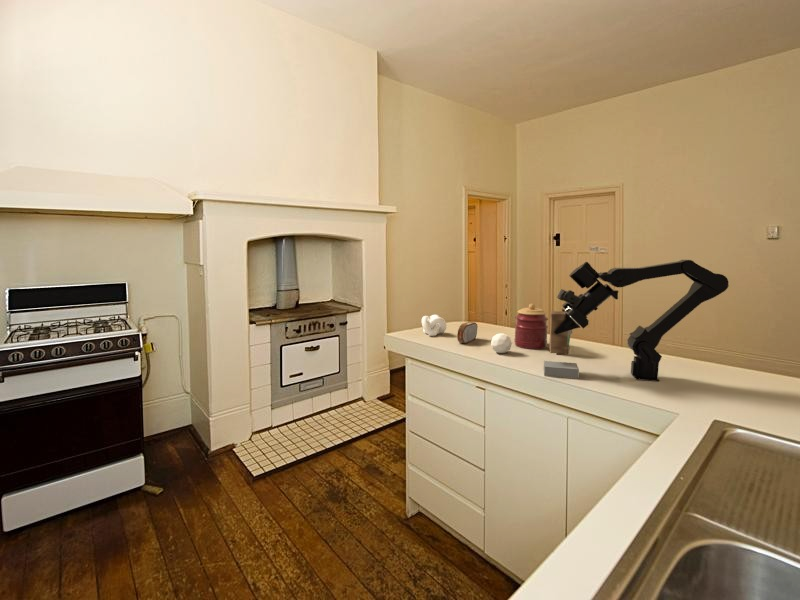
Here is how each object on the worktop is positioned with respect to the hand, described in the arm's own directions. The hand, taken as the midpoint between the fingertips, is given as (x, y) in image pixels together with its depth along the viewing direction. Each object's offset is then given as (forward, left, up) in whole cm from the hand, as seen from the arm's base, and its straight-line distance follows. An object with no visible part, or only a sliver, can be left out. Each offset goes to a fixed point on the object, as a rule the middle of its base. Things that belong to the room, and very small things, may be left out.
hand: (554, 331), depth 133 cm
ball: (+18, -19, -14) cm, 29 cm away
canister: (+7, -34, -14) cm, 37 cm away
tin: (+33, -34, -14) cm, 49 cm away
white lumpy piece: (+50, -44, -14) cm, 68 cm away
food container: (-5, -27, -14) cm, 30 cm away
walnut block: (-2, 0, -7) cm, 7 cm away
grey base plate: (-2, +3, -13) cm, 14 cm away
